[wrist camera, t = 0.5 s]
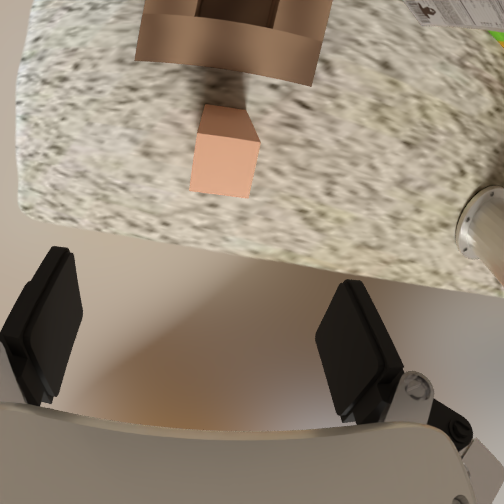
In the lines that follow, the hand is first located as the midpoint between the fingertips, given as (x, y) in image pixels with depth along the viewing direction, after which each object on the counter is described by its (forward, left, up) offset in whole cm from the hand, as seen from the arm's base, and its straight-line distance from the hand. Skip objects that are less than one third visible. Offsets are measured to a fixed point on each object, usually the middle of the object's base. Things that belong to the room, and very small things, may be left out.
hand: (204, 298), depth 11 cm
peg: (-1, 0, -24) cm, 24 cm away
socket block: (0, -13, -24) cm, 27 cm away
